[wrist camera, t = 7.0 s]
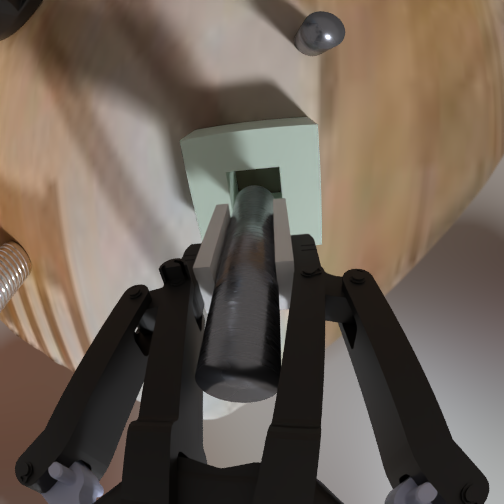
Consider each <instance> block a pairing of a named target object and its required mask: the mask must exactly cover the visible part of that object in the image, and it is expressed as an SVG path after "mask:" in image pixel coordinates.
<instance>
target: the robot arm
mask: <svg viewBox="0 0 504 504" xmlns="http://www.w3.org/2000/svg"><path fill="white" fill-rule="evenodd" d="M41 1H42V0H0V40H3V39H6V38H7V37H9V36H11V35H12V34H13V33H15V32H16V31H17V30H18V29H19V28H20V27H21V26H22V25H23V24H24V23H25V22H26V21H27V20H28V19H29V18H30V17H31V15H32V14H33V13H34V11H35V10H36V9H37V7H38V6H39V4H40V3H41ZM273 215H274V242H275V265H276V276H277V283H278V286H279V306H280V310H283V309H289V316H288V323H287V331H286V338H285V345H284V352H283V359H282V365H281V372H280V378H279V384H278V390H277V397H276V403H275V409H274V414H273V419H272V423H271V425H270V426H269V429H268V432H267V436H266V441H265V446H264V451H263V456H262V461H261V463H250V464H245V465H239V466H234V467H228V468H216V467H214V466H210V465H207V460H206V456H205V453H204V449H203V390H202V389H201V388H200V387H199V386H198V385H197V383H196V381H195V373H196V368H197V363H198V358H199V354H200V349H201V344H202V340H203V335H204V328H205V319H204V315H203V308H204V306H205V309H206V313H208V312H209V308H210V304H211V299H212V295H213V291H214V286H215V282H216V278H217V273H218V269H219V265H220V261H221V257H222V252H223V248H224V244H225V240H226V236H227V232H228V228H229V224H230V220H231V216H230V210H229V205H228V204H219V205H216V207H215V209H214V212H213V215H212V217H211V220H210V222H209V225H208V228H207V230H206V233H205V236H204V238H203V241H202V244H191V245H190V246H189V247H188V248H187V249H186V250H185V252H184V255H183V257H182V259H180V258H177V259H171V260H168V261H166V262H164V263H163V264H162V265H161V266H160V268H159V271H160V274H161V277H162V279H163V282H164V286H163V287H162V288H159V289H156V290H152V291H149V290H148V287H146V286H145V285H135V286H132V287H130V288H129V289H127V290H126V291H125V293H124V294H123V295H122V297H121V298H120V300H119V301H118V303H117V304H116V306H115V307H114V309H113V310H112V312H111V314H110V315H109V317H108V318H107V320H106V321H105V323H104V324H103V326H102V328H101V329H100V331H99V332H98V334H97V336H96V337H95V339H94V341H93V342H92V344H91V345H90V347H89V349H88V350H87V352H86V354H85V355H84V357H83V359H82V361H81V362H80V364H79V366H78V367H77V369H76V371H75V373H74V375H73V376H72V378H71V380H70V382H69V384H68V385H67V387H66V389H65V391H64V393H63V395H62V396H61V398H60V400H59V402H58V404H57V406H56V408H55V410H54V412H53V414H52V416H51V418H50V420H49V422H48V424H47V426H46V428H45V430H44V431H43V432H42V433H41V434H40V435H39V436H38V437H37V438H36V440H35V441H34V442H33V443H32V444H31V445H30V446H29V447H28V448H27V450H26V451H25V452H24V453H23V454H22V455H21V456H20V457H19V459H18V461H17V462H16V466H15V473H16V477H17V479H18V480H19V482H20V483H21V484H22V485H25V486H26V487H29V488H31V489H33V490H35V491H37V492H39V493H40V494H42V495H43V497H44V498H45V500H46V501H47V502H48V503H49V504H344V503H343V502H341V501H340V500H339V499H338V498H337V497H336V496H335V495H334V494H333V493H332V492H331V491H330V490H329V489H328V488H327V487H326V486H325V485H324V484H323V483H322V482H321V481H319V480H318V479H316V477H317V468H318V460H319V449H320V439H321V416H322V401H323V383H324V382H323V381H324V358H325V320H326V321H332V322H338V323H339V327H340V330H341V332H342V335H343V338H344V341H345V344H346V346H347V349H348V352H349V355H350V358H351V361H352V364H353V367H354V370H355V373H356V376H357V379H358V382H359V385H360V388H361V391H362V394H363V397H364V401H365V404H366V407H367V410H368V414H369V417H370V421H371V424H372V427H373V430H374V434H375V438H376V441H377V445H378V448H379V452H380V455H381V459H382V463H383V466H384V469H385V472H386V475H387V478H388V479H389V481H390V484H391V486H392V488H393V490H392V491H391V492H390V493H389V494H388V496H387V498H386V500H385V504H484V502H485V501H486V499H487V497H488V493H489V483H488V481H487V479H486V477H485V476H484V475H483V473H482V472H481V471H480V470H479V469H478V468H477V466H476V465H475V464H474V463H473V462H472V461H471V460H470V459H469V457H468V456H467V455H466V454H465V453H464V452H463V451H462V449H461V448H460V447H459V446H458V445H457V444H456V443H455V442H454V440H453V439H452V436H451V434H450V431H449V429H448V426H447V424H446V421H445V419H444V416H443V414H442V411H441V409H440V407H439V404H438V402H437V400H436V397H435V395H434V393H433V391H432V388H431V386H430V384H429V382H428V380H427V377H426V376H425V373H424V371H423V369H422V367H421V365H420V363H419V361H418V359H417V357H416V355H415V353H414V351H413V349H412V347H411V345H410V343H409V341H408V339H407V337H406V335H405V333H404V331H403V329H402V328H401V326H400V324H399V322H398V321H397V318H396V316H395V315H394V313H393V311H392V309H391V307H390V306H389V304H388V302H387V300H386V299H385V297H384V295H383V293H382V292H381V290H380V288H379V286H378V285H377V283H376V281H375V280H374V278H373V276H372V275H371V274H370V273H369V272H367V271H365V270H362V269H351V270H348V271H347V272H345V273H344V275H343V277H339V276H333V275H330V274H328V273H326V272H325V271H324V269H323V268H322V267H321V265H320V261H319V257H318V253H317V249H316V245H315V241H314V238H313V237H312V236H311V235H310V234H298V235H290V228H289V220H288V213H287V206H286V199H285V198H280V199H273ZM136 327H138V329H137V331H136V332H135V329H136ZM143 382H144V385H143V391H142V397H141V404H140V411H139V417H138V419H137V420H136V421H132V422H131V423H130V425H129V427H128V431H127V439H126V447H125V455H124V465H123V474H122V482H120V483H119V484H118V485H117V486H115V487H114V488H113V489H111V490H110V491H109V492H107V493H106V494H105V495H103V492H104V490H103V487H102V486H101V485H100V484H99V481H100V479H101V478H102V476H103V475H104V473H105V472H106V470H107V468H108V467H109V464H110V462H111V460H112V458H113V455H114V452H115V450H116V448H117V445H118V442H119V440H120V437H121V435H122V432H123V430H124V427H125V425H126V422H127V420H128V418H129V415H130V413H131V410H132V408H133V405H134V403H135V401H136V398H137V396H138V394H139V391H140V389H141V387H142V384H143ZM102 495H103V496H102ZM101 496H102V497H101ZM96 497H101V498H99V499H98V500H97V501H96Z"/></svg>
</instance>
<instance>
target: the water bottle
mask: <svg viewBox="0 0 504 504" xmlns="http://www.w3.org/2000/svg"><path fill="white" fill-rule="evenodd" d="M30 273H31V263H30V260H29V257H28V256H27V254H26V252H25V251H24V250H23V248H22V247H21V246H20V245H18V244H17V243H15V242H13V241H8V242H6V243H5V244H3V245H2V246H1V247H0V312H1V311H2V309H3V308H4V307H5V305H6V304H7V303H8V301H9V300H10V299H11V298H12V296H13V295H14V294H15V293H16V291H17V290H18V289H19V288H20V286H21V285H22V284H23V283H24V282H25V280H26V279H27V278H28V276H29V275H30Z"/></svg>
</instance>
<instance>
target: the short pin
mask: <svg viewBox="0 0 504 504" xmlns="http://www.w3.org/2000/svg"><path fill="white" fill-rule="evenodd" d="M344 36H345V28H344V25H343V23H342V22H341V20H340V19H339V18H338V17H336V16H335V15H333V14H331V13H328V12H322V11H320V12H314V13H312V14H310V15H309V16H308V17H307V18H306V19H305V21H304V22H303V24H302V25H301V27H300V29H299V30H298V32H297V34H296V35H295V40H294V41H295V45H296V47H297V49H298V50H299V51H300V52H301V53H303V54H305V55H308V56H317V55H320V54H322V53H324V52H325V51H327V50H329V49H331V48H333V47H335V46H337V45H339V44H340V43H341V42H342V41H343V39H344Z"/></svg>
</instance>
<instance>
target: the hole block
mask: <svg viewBox="0 0 504 504" xmlns="http://www.w3.org/2000/svg"><path fill="white" fill-rule="evenodd" d="M180 146H181V150H182V155H183V160H184V165H185V169H186V174H187V179H188V183H189V188H190V192H191V196H192V201H193V205H194V209H195V214H196V218H197V222H198V226H199V230H200V234H201V238H202V241H203V238H204V236H205V233H206V230H207V228H208V225H209V222H210V220H211V217H212V215H213V212H214V209H215V207H216V205H219V204H228V205H229V210H230V216H232V212H233V208H234V204H235V200H236V197H237V195H238V193H239V192H238V185H237V179H236V173H235V171H242V170H251V169H260V168H271V167H279V174H280V184H281V192H277V193H271V194H272V195H273V197H274V199H280V198H285V199H286V206H287V213H288V220H289V228H290V235H298V234H310V235H311V236H312V237H313V238H314V241H315V245H322V210H321V176H320V155H319V139H318V124H316V123H315V122H314V121H313V120H311V119H310V118H309V117H295V118H282V119H270V120H260V121H251V122H243V123H235V124H228V125H221V126H215V127H208V128H203V129H197V130H194V131H193V132H191V133H190V134H188V135H187V136H185V137H184V138H183V139H181V140H180Z"/></svg>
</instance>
